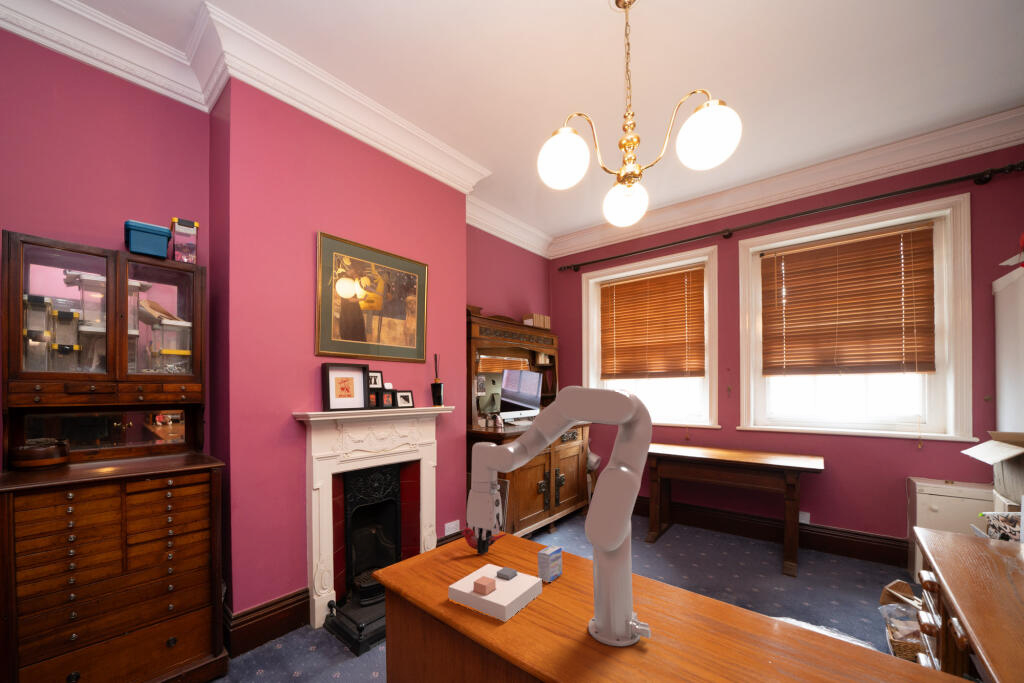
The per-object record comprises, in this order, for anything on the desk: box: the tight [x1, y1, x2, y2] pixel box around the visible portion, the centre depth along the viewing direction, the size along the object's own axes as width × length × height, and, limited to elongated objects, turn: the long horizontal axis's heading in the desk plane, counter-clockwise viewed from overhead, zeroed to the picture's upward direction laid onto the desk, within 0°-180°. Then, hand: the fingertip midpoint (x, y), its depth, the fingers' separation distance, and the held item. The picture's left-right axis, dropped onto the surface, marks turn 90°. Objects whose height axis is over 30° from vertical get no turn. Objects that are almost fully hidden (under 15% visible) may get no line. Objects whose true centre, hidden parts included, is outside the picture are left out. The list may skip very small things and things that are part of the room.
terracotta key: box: [474, 576, 496, 596], centre depth 117 cm, size 4×4×3 cm
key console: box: [448, 563, 543, 623], centre depth 121 cm, size 20×19×4 cm
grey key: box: [497, 566, 518, 581], centre depth 126 cm, size 4×4×3 cm
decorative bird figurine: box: [461, 526, 508, 551], centre depth 154 cm, size 3×18×10 cm, turn 107°
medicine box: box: [537, 544, 563, 583], centre depth 134 cm, size 8×4×9 cm, turn 143°
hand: (482, 552), depth 118 cm, fingers closed
